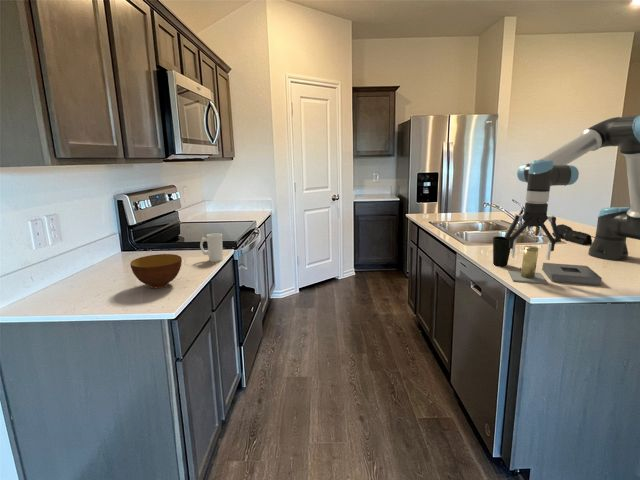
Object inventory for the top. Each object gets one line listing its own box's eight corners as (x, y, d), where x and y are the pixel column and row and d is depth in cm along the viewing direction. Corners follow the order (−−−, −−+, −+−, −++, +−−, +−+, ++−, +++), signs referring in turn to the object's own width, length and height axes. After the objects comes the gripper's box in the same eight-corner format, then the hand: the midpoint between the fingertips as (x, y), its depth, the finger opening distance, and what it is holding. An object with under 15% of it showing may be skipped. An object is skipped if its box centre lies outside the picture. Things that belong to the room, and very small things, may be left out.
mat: (541, 274, 156) (541, 273, 156) (548, 284, 145) (548, 283, 145) (508, 272, 159) (508, 270, 159) (513, 281, 148) (513, 280, 148)
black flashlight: (584, 247, 201) (587, 232, 199) (547, 236, 225) (549, 222, 222) (595, 247, 202) (598, 231, 200) (557, 235, 226) (559, 221, 224)
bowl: (122, 290, 141) (119, 264, 139) (158, 276, 157) (155, 252, 155) (160, 296, 135) (157, 269, 133) (193, 281, 151) (191, 256, 149)
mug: (224, 257, 184) (222, 233, 181) (222, 261, 177) (221, 236, 174) (202, 258, 182) (200, 233, 180) (200, 262, 176) (198, 236, 173)
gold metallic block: (533, 275, 153) (537, 246, 151) (535, 279, 149) (539, 249, 146) (519, 274, 155) (523, 245, 152) (522, 277, 150) (525, 248, 148)
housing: (586, 272, 158) (587, 265, 157) (600, 285, 143) (601, 278, 142) (542, 269, 163) (542, 262, 162) (551, 281, 148) (552, 274, 147)
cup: (487, 262, 173) (489, 236, 170) (503, 262, 173) (506, 236, 171) (496, 267, 165) (499, 240, 162) (513, 267, 166) (516, 240, 163)
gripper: (570, 202, 145) (562, 257, 150) (500, 199, 152) (495, 253, 157) (576, 204, 138) (567, 263, 143) (503, 202, 145) (497, 258, 150)
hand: (529, 258), depth 150 cm, fingers open, 11 cm apart
